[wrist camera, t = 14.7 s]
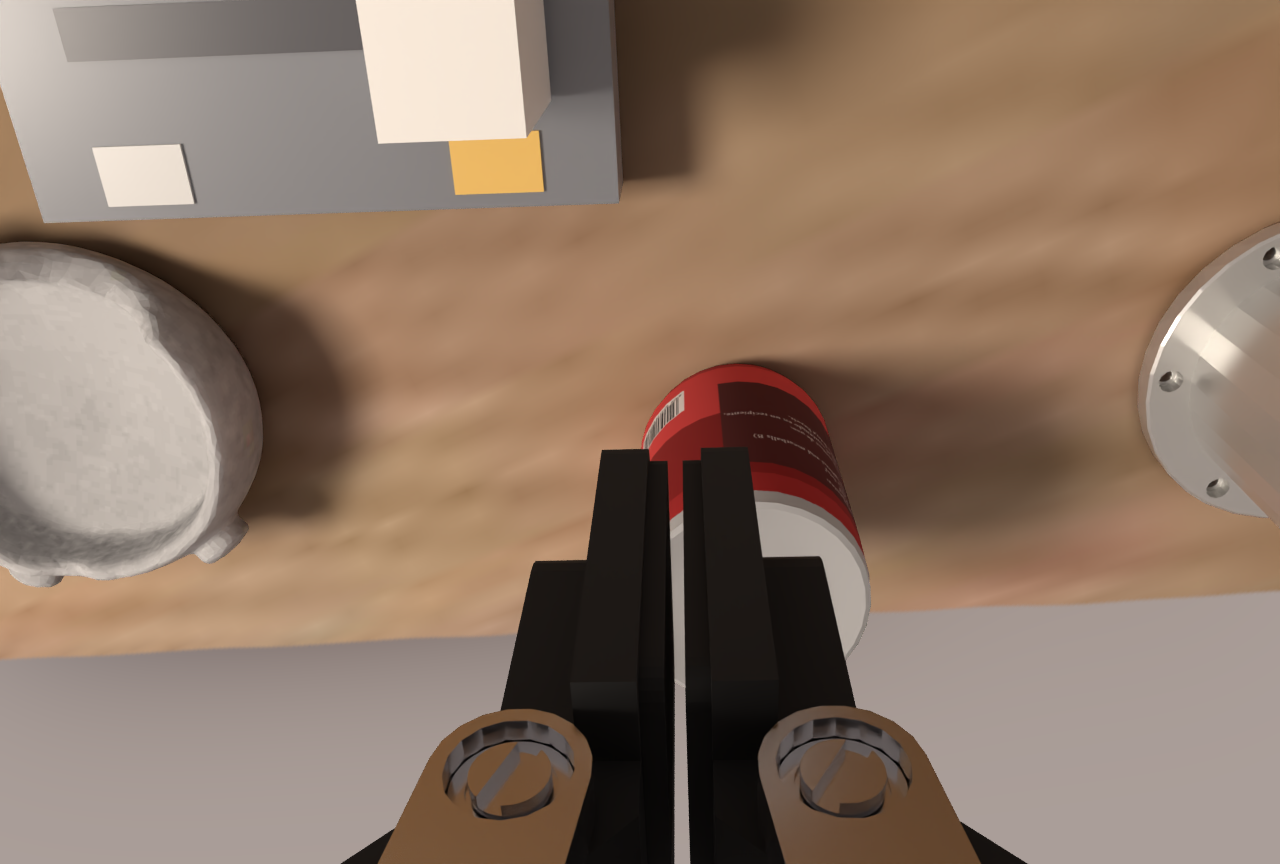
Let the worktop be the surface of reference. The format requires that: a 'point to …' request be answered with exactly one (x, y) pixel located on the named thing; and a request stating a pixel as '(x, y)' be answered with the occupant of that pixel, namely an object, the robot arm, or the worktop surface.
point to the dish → (115, 420)
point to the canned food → (765, 481)
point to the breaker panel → (276, 114)
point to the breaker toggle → (455, 68)
